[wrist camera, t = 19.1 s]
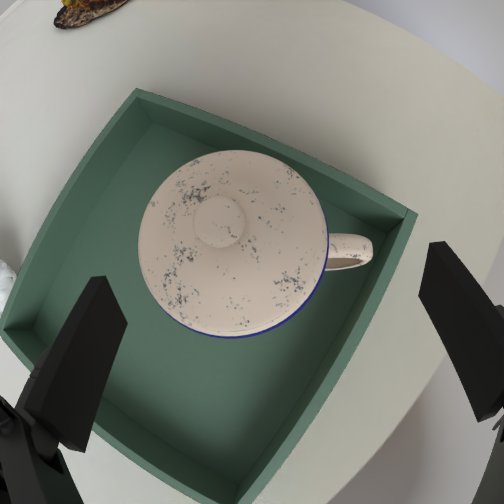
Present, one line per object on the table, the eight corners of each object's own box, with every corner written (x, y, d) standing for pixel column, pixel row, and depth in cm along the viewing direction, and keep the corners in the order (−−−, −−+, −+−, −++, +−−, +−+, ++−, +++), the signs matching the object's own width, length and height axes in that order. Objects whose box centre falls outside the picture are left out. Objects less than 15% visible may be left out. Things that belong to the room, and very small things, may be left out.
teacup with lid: (184, 330, 23) (100, 334, 11) (189, 209, 25) (125, 127, 13) (353, 331, 22) (420, 338, 10) (348, 207, 24) (395, 118, 12)
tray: (394, 234, 24) (418, 214, 19) (244, 489, 21) (236, 521, 16) (155, 119, 28) (135, 87, 23) (31, 332, 25) (-5, 331, 20)
